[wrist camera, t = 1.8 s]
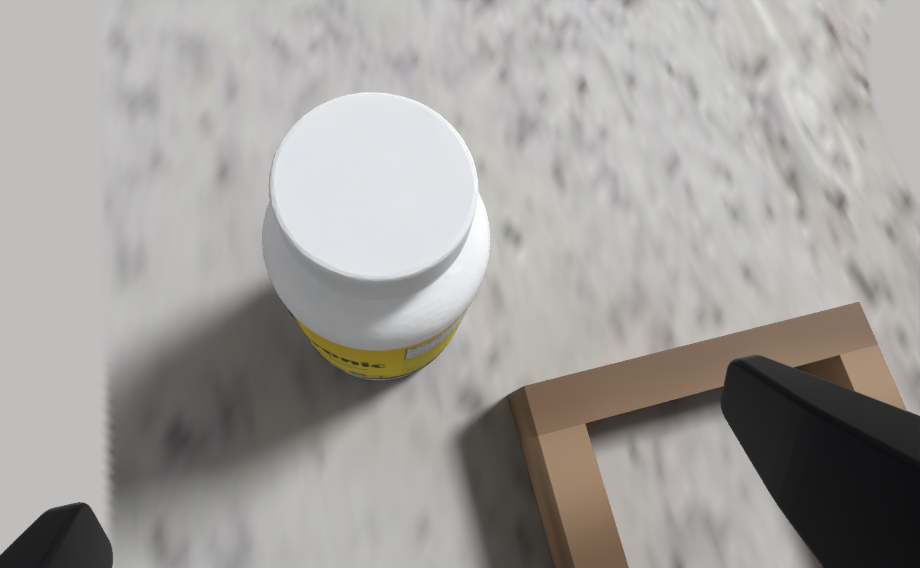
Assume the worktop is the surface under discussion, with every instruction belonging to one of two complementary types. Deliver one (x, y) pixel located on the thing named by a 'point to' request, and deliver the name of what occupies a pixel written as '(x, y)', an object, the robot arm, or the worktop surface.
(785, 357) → the brown wooden frame
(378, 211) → the supplement bottle
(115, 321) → the worktop surface
